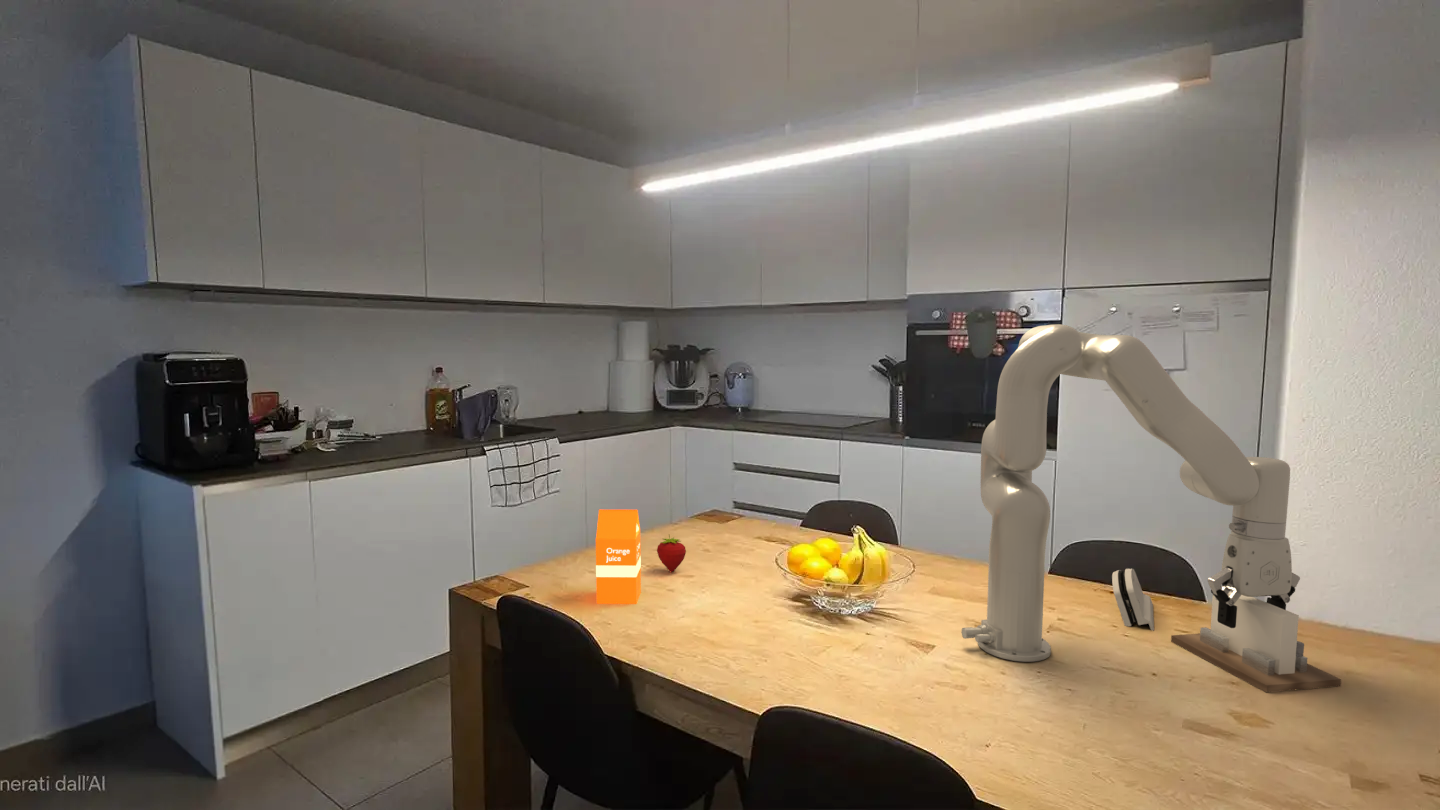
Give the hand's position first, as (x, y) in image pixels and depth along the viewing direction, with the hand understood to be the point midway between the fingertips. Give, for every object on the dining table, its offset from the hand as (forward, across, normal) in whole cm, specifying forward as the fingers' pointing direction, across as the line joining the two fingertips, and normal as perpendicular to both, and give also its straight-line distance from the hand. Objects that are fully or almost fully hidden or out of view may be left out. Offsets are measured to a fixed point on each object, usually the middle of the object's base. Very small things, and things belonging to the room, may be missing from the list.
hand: (1250, 623), depth 126 cm
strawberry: (+8, -97, +66) cm, 117 cm away
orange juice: (+9, -110, +50) cm, 121 cm away
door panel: (+6, 0, 0) cm, 6 cm away
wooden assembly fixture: (+7, 0, 0) cm, 7 cm away
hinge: (+8, -4, +24) cm, 25 cm away
